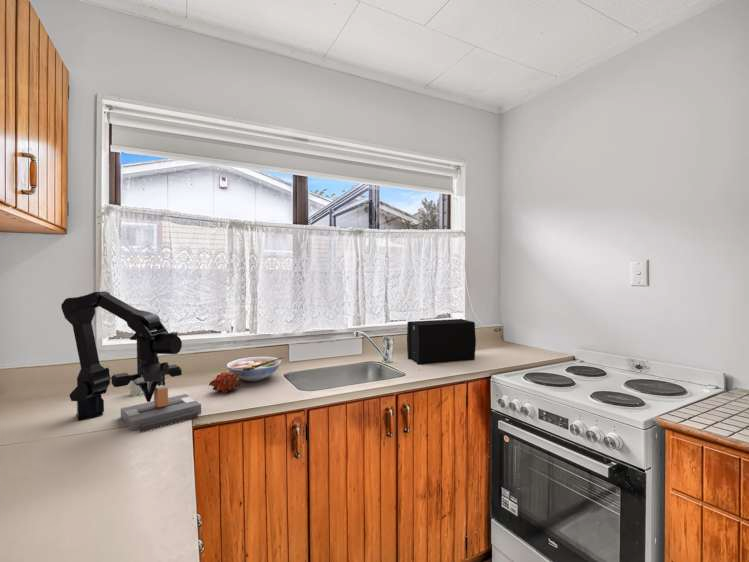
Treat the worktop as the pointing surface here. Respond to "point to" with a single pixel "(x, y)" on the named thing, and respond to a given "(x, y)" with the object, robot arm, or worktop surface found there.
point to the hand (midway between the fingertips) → (148, 401)
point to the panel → (158, 411)
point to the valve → (137, 390)
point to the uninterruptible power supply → (441, 341)
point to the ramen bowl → (254, 367)
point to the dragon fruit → (226, 382)
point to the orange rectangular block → (161, 396)
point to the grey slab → (168, 421)
